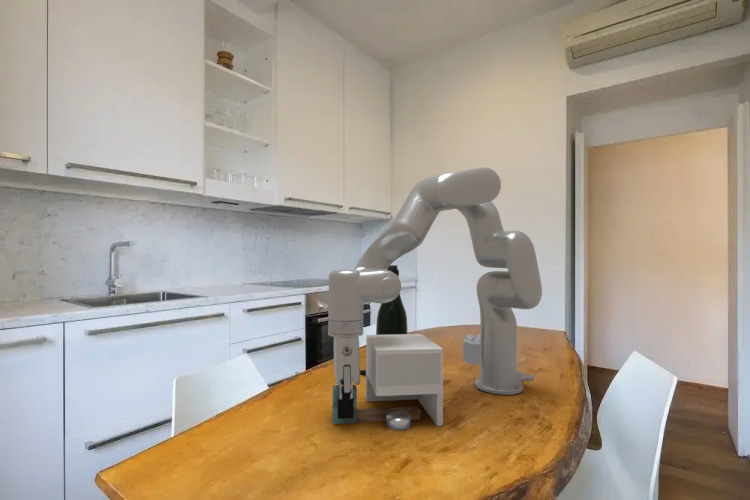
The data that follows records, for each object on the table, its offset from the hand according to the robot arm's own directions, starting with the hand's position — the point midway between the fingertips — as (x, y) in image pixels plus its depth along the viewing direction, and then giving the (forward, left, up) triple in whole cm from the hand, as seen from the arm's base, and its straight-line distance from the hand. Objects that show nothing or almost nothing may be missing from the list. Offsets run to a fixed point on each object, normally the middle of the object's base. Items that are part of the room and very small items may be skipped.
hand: (344, 413), depth 83 cm
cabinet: (-13, -3, -1) cm, 13 cm away
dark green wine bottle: (-18, -41, -2) cm, 45 cm away
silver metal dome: (-11, +4, -2) cm, 12 cm away
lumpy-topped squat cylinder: (-50, -46, -2) cm, 68 cm away
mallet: (-7, 0, -2) cm, 7 cm away
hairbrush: (-13, -26, -2) cm, 29 cm away
